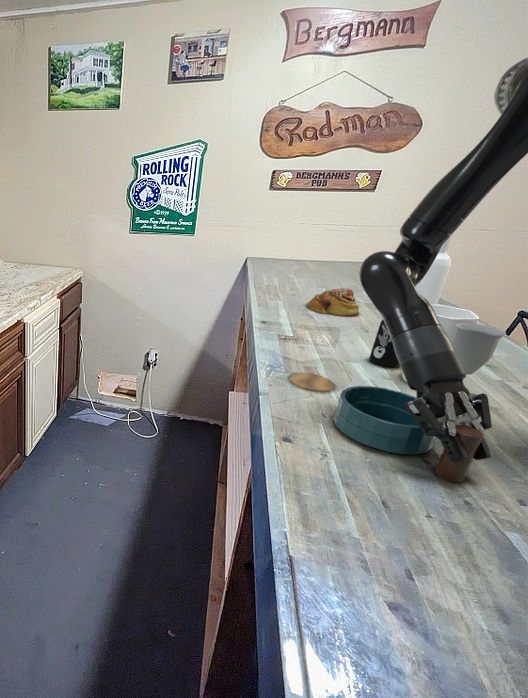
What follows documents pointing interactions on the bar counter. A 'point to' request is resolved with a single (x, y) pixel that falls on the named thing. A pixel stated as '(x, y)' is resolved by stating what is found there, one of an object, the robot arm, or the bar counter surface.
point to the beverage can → (383, 349)
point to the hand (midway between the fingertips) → (471, 459)
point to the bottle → (436, 276)
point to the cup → (451, 320)
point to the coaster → (312, 382)
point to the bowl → (381, 420)
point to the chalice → (475, 345)
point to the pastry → (335, 303)
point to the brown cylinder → (470, 444)
